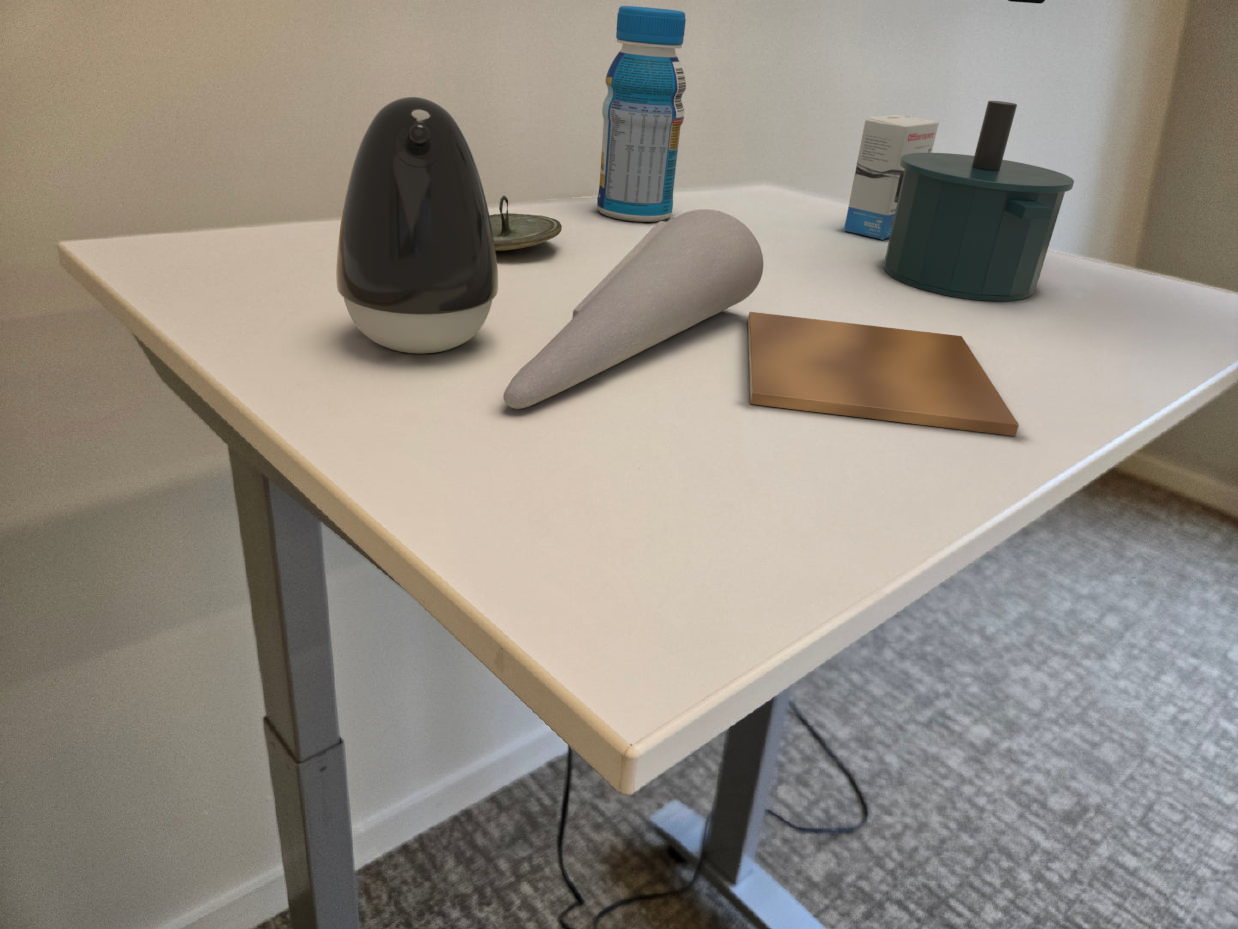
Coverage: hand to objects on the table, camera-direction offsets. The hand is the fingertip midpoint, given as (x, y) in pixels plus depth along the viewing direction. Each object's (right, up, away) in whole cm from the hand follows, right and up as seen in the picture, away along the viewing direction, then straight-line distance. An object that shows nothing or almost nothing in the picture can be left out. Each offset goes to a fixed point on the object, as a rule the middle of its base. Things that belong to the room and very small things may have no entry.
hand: (1010, 0), depth 77 cm
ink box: (-4, -13, +25) cm, 29 cm away
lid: (-43, -19, +6) cm, 48 cm away
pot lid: (0, -13, +5) cm, 14 cm away
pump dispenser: (-46, -31, -16) cm, 58 cm away
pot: (-1, -21, +10) cm, 23 cm away
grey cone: (-31, -32, -15) cm, 47 cm away
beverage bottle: (-31, -12, +23) cm, 40 cm away
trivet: (-16, -32, -14) cm, 39 cm away
